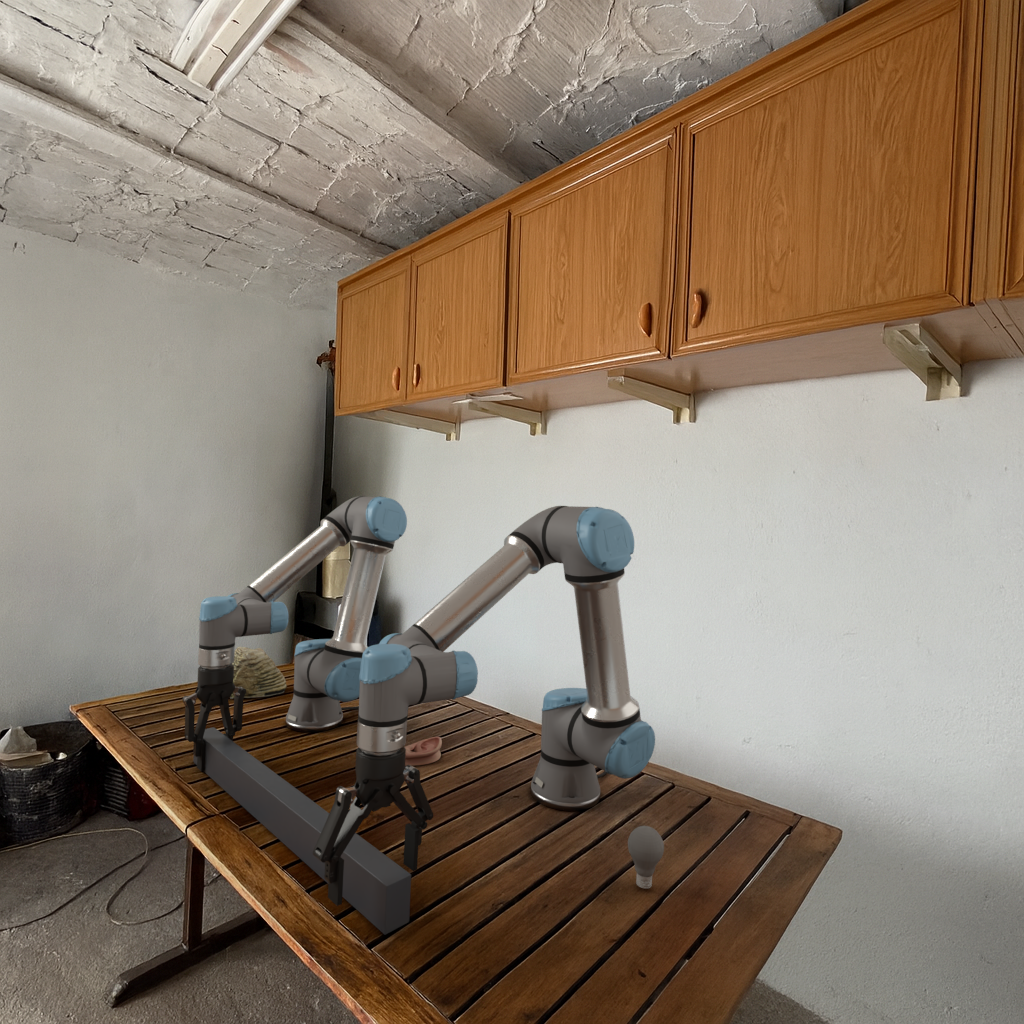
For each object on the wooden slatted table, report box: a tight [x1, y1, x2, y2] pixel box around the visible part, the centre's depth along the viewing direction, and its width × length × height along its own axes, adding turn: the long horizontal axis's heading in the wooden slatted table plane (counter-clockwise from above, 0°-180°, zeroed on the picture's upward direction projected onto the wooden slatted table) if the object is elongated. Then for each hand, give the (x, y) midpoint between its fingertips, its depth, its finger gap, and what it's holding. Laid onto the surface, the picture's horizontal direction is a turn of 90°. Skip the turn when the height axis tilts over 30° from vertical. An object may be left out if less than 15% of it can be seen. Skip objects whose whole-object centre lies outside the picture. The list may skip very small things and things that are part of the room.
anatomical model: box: [404, 736, 443, 767], centre depth 156 cm, size 13×4×12 cm
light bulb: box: [627, 825, 665, 890], centre depth 107 cm, size 6×6×10 cm
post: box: [192, 726, 412, 936], centre depth 122 cm, size 79×4×7 cm, turn 45°
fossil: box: [229, 646, 288, 699], centre depth 198 cm, size 9×18×15 cm, turn 132°
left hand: (212, 765), depth 145 cm, fingers closed on post, 4 cm apart
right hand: (374, 883), depth 98 cm, fingers open, 13 cm apart
